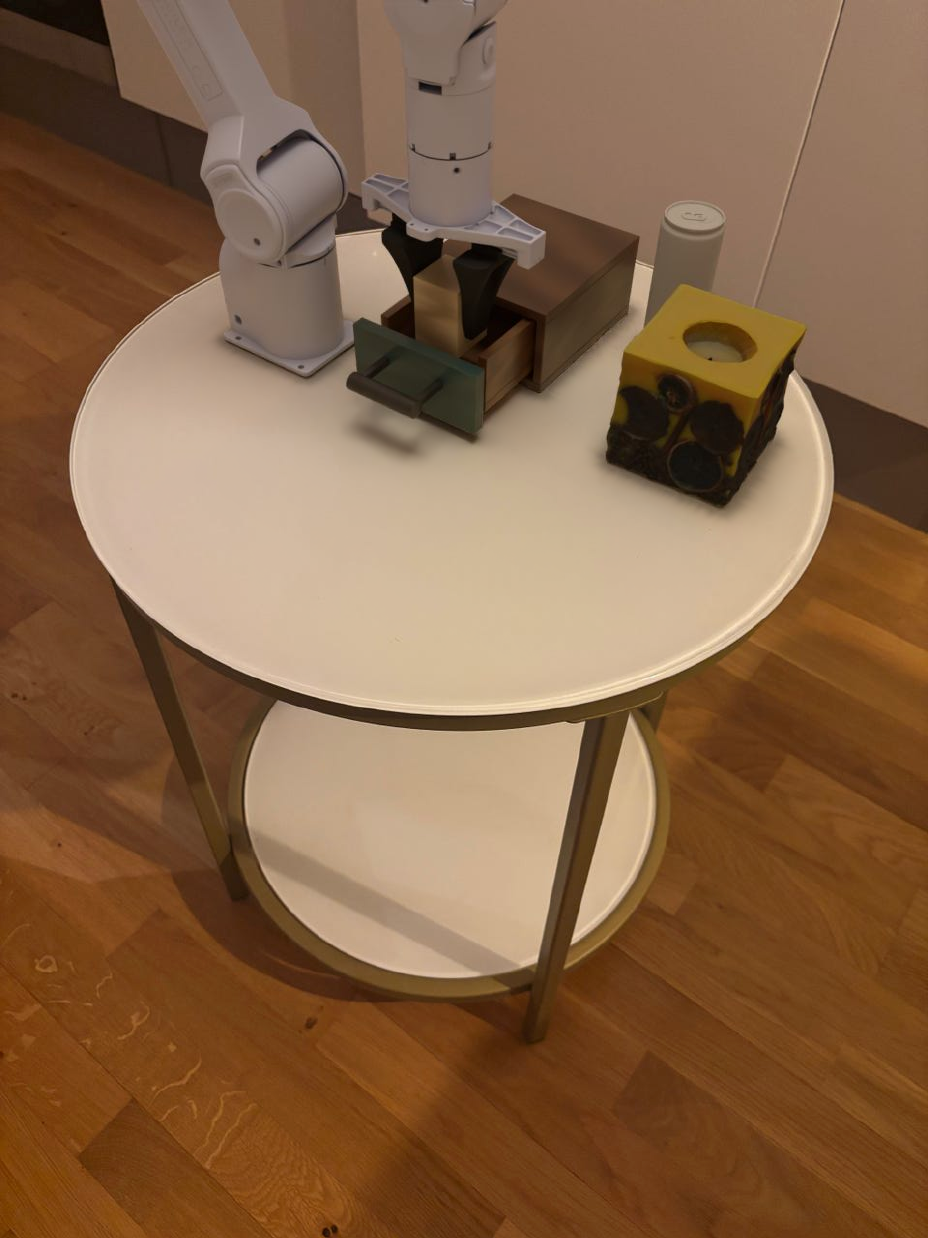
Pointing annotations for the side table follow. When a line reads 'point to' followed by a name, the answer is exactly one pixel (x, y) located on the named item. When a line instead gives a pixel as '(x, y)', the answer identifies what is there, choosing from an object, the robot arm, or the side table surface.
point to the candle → (702, 393)
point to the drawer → (440, 366)
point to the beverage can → (685, 251)
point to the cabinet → (565, 284)
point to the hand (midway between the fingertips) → (450, 322)
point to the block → (440, 309)
